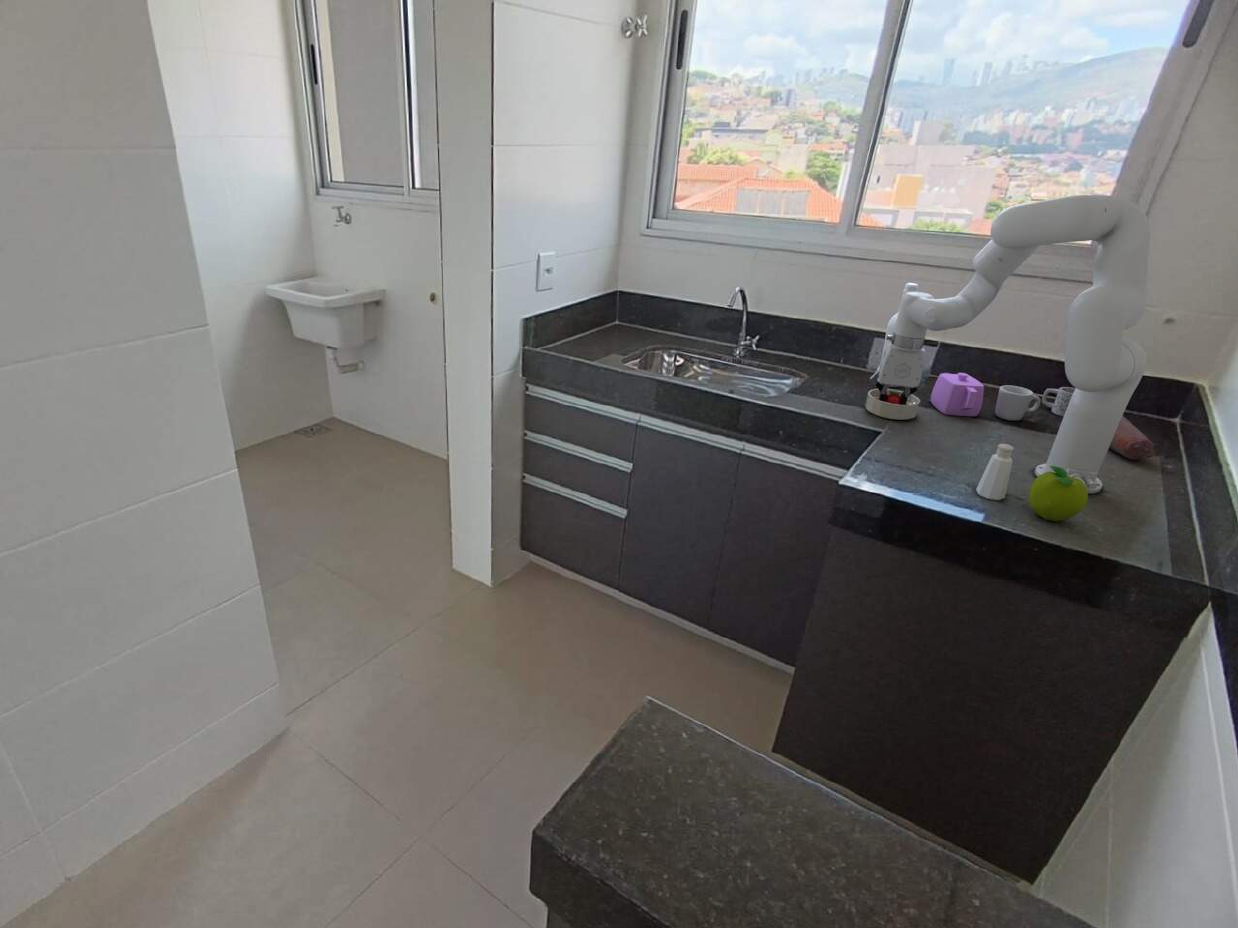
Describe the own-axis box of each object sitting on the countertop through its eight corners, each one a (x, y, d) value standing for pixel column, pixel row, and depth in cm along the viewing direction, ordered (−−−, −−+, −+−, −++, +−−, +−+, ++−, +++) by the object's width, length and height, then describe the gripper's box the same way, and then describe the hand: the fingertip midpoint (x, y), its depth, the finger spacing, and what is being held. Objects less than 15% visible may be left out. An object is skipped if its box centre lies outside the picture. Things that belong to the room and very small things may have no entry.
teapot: (921, 396, 191) (930, 362, 187) (957, 398, 191) (967, 364, 187) (946, 419, 175) (957, 382, 170) (986, 421, 175) (998, 385, 170)
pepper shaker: (977, 485, 139) (993, 438, 135) (1006, 493, 137) (1023, 445, 132) (973, 494, 135) (989, 446, 131) (1002, 503, 133) (1020, 454, 128)
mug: (1081, 414, 184) (1090, 392, 181) (1074, 419, 180) (1083, 396, 177) (1043, 404, 191) (1050, 382, 188) (1035, 408, 187) (1043, 386, 184)
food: (1067, 429, 173) (1079, 397, 169) (1102, 430, 174) (1115, 399, 170) (1124, 463, 154) (1139, 428, 150) (1163, 465, 154) (1179, 430, 151)
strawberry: (899, 412, 175) (903, 394, 173) (883, 410, 176) (888, 392, 173) (897, 406, 178) (901, 389, 176) (881, 405, 179) (886, 388, 177)
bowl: (919, 424, 170) (924, 408, 169) (867, 417, 173) (871, 401, 171) (911, 407, 182) (915, 392, 180) (862, 401, 184) (866, 386, 182)
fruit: (1024, 522, 126) (1042, 475, 122) (1020, 501, 134) (1037, 457, 129) (1080, 535, 123) (1100, 487, 118) (1072, 513, 130) (1091, 468, 126)
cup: (1026, 414, 182) (1036, 387, 178) (1040, 425, 175) (1050, 397, 171) (986, 411, 182) (995, 383, 179) (998, 421, 175) (1007, 393, 172)
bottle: (883, 377, 206) (906, 279, 193) (907, 384, 200) (932, 285, 187) (868, 381, 201) (891, 282, 188) (893, 389, 196) (918, 287, 182)
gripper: (875, 341, 167) (859, 408, 175) (945, 349, 164) (926, 417, 172) (872, 334, 174) (857, 399, 182) (939, 341, 171) (920, 407, 179)
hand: (890, 407), depth 177 cm, fingers closed on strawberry, 4 cm apart
